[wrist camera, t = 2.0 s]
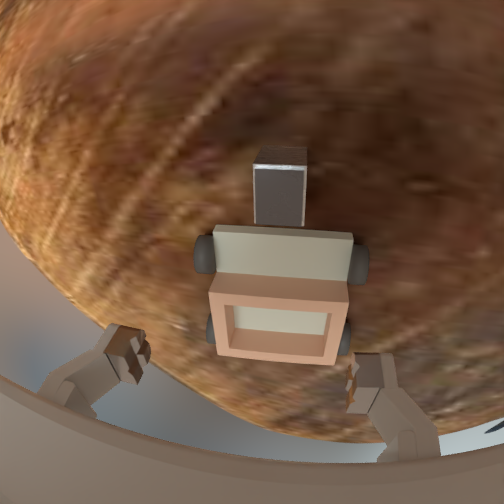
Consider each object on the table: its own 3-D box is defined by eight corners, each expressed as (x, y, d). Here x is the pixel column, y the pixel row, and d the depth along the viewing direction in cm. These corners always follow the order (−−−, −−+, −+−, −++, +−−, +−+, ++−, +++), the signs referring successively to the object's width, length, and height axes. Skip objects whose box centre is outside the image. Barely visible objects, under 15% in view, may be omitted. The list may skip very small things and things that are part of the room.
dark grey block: (263, 145, 28) (251, 165, 23) (307, 147, 28) (306, 168, 22) (263, 194, 31) (253, 226, 26) (305, 197, 30) (303, 229, 25)
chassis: (202, 223, 34) (187, 248, 30) (366, 233, 31) (373, 261, 27) (216, 330, 42) (207, 358, 38) (343, 340, 40) (344, 370, 36)
